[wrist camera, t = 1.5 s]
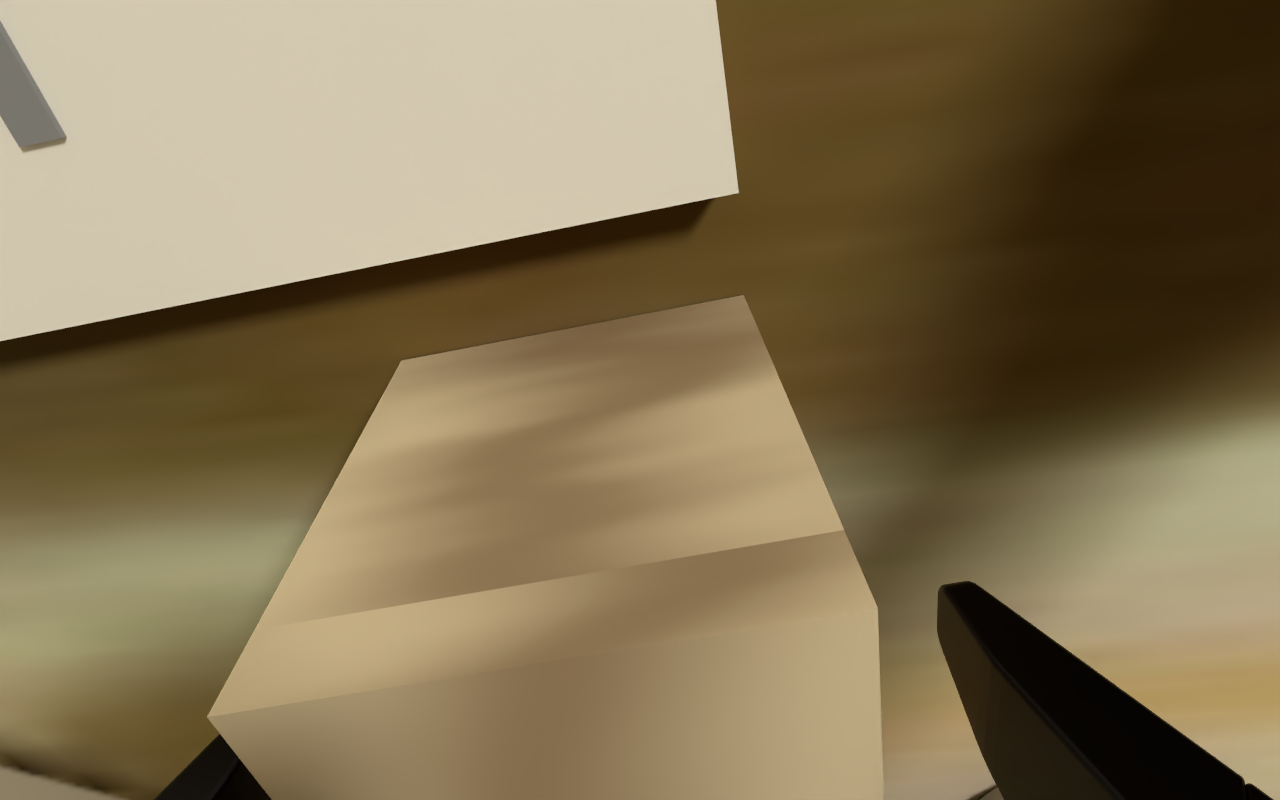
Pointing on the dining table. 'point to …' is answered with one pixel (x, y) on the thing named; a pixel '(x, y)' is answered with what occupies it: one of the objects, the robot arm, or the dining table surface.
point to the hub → (330, 137)
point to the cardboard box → (572, 587)
